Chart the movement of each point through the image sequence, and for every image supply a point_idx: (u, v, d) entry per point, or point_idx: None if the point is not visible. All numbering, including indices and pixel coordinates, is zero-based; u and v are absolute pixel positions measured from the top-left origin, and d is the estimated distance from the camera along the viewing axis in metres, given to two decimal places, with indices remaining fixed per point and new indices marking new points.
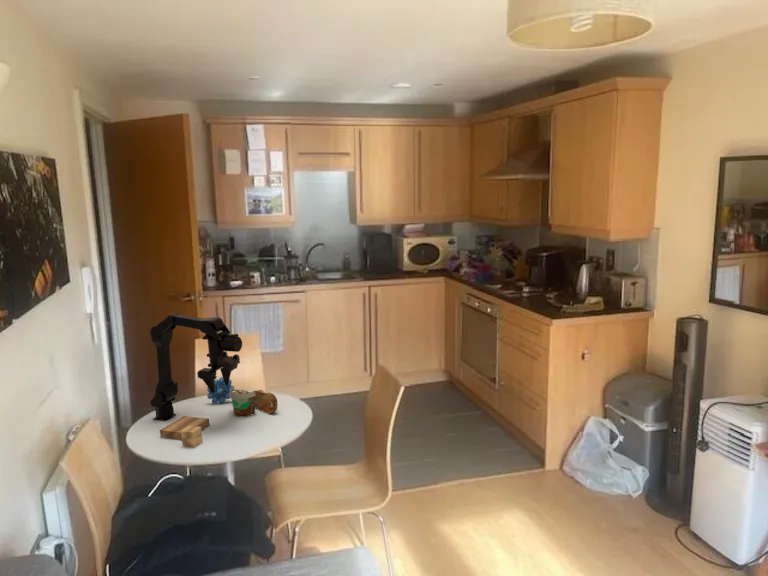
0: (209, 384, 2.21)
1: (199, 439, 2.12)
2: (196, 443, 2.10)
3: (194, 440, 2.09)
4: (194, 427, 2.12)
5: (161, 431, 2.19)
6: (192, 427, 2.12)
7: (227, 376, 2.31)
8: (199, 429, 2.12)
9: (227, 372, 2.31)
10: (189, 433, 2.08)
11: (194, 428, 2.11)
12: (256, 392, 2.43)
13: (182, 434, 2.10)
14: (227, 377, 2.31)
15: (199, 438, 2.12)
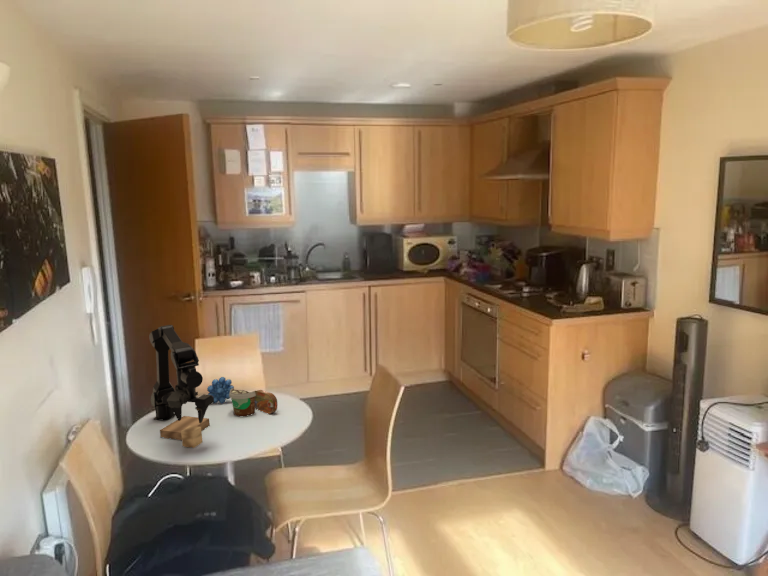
0: None
1: (199, 439, 2.12)
2: (196, 443, 2.10)
3: (194, 440, 2.09)
4: (194, 427, 2.12)
5: (161, 431, 2.19)
6: (192, 427, 2.12)
7: None
8: (199, 429, 2.12)
9: None
10: (189, 433, 2.08)
11: (194, 428, 2.11)
12: (256, 392, 2.43)
13: (182, 434, 2.10)
14: None
15: (199, 438, 2.12)
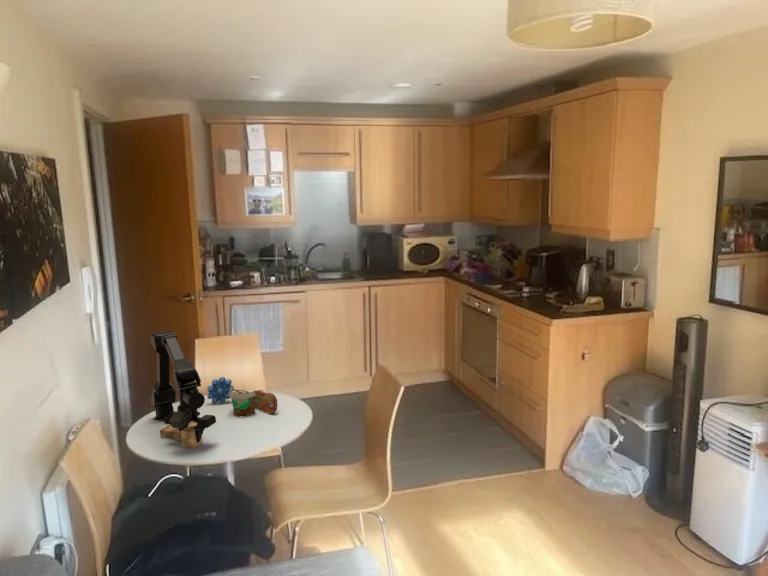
0: None
1: None
2: (196, 443, 2.10)
3: (194, 440, 2.09)
4: None
5: (161, 431, 2.19)
6: (192, 427, 2.12)
7: None
8: None
9: None
10: (189, 433, 2.08)
11: None
12: (256, 392, 2.43)
13: (182, 434, 2.10)
14: None
15: None
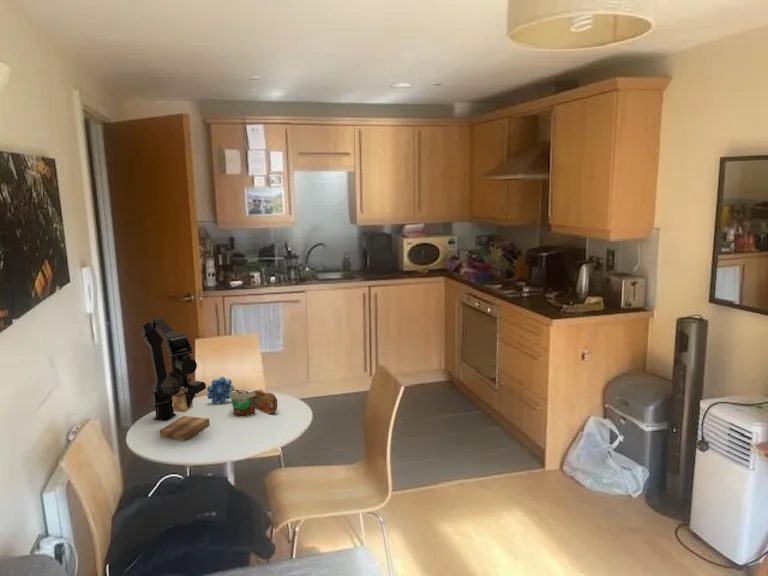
0: None
1: None
2: (187, 408, 2.19)
3: (185, 405, 2.18)
4: None
5: (161, 431, 2.19)
6: (183, 393, 2.21)
7: None
8: None
9: None
10: (180, 398, 2.17)
11: None
12: (256, 392, 2.43)
13: (173, 399, 2.18)
14: None
15: None
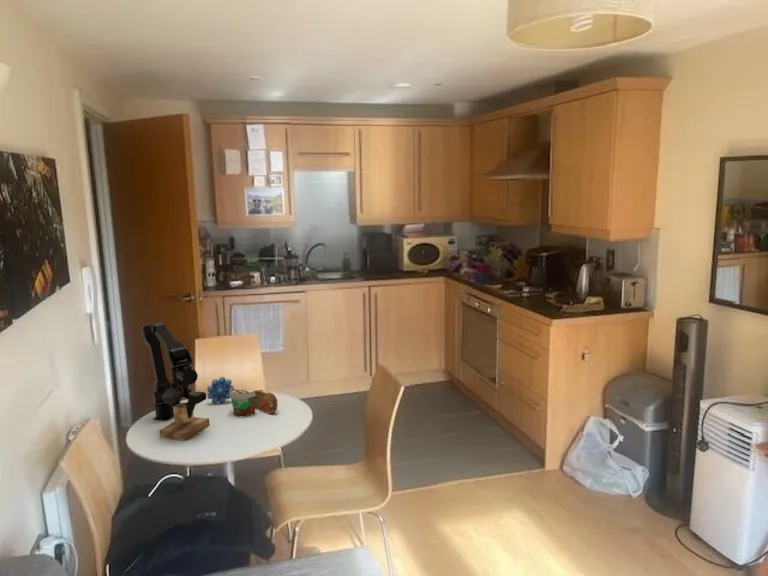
0: None
1: None
2: (187, 418, 2.21)
3: (185, 415, 2.20)
4: None
5: (161, 431, 2.19)
6: (184, 403, 2.23)
7: None
8: None
9: None
10: (181, 409, 2.19)
11: None
12: (256, 392, 2.43)
13: (174, 410, 2.20)
14: None
15: None
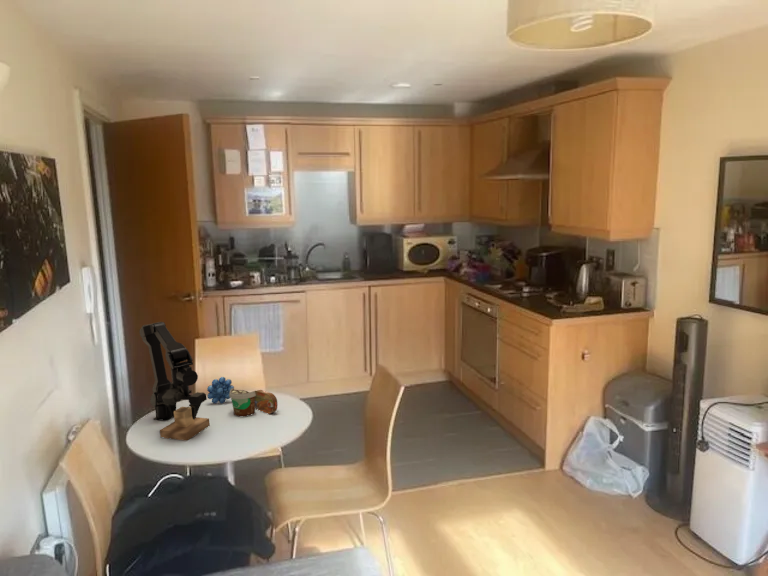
0: None
1: (191, 419, 2.23)
2: (188, 423, 2.21)
3: (186, 420, 2.20)
4: (186, 408, 2.23)
5: (161, 431, 2.19)
6: (184, 408, 2.24)
7: None
8: None
9: None
10: (181, 413, 2.20)
11: (186, 409, 2.22)
12: (256, 392, 2.43)
13: (175, 414, 2.21)
14: None
15: (191, 418, 2.23)
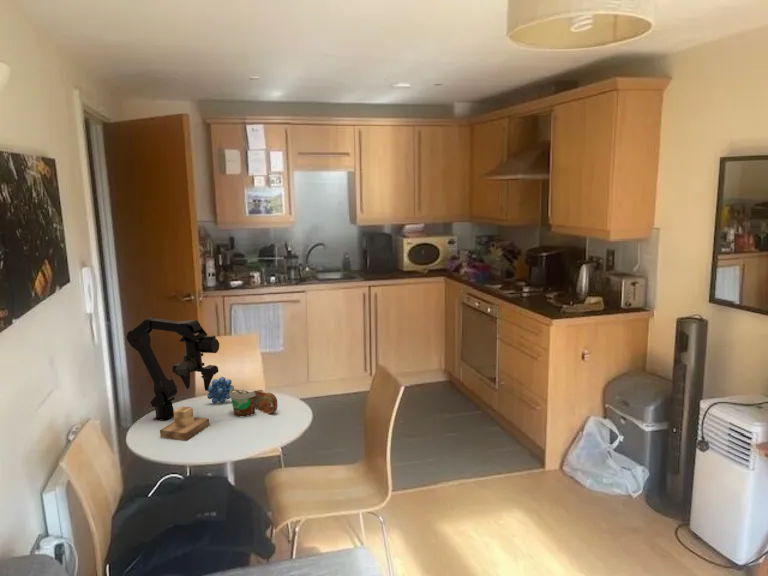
0: None
1: (191, 419, 2.23)
2: (188, 423, 2.21)
3: (186, 420, 2.20)
4: (186, 408, 2.23)
5: (161, 431, 2.19)
6: (184, 408, 2.24)
7: None
8: (191, 410, 2.23)
9: None
10: (181, 413, 2.20)
11: (186, 409, 2.22)
12: (256, 392, 2.43)
13: (175, 414, 2.21)
14: None
15: (191, 418, 2.23)
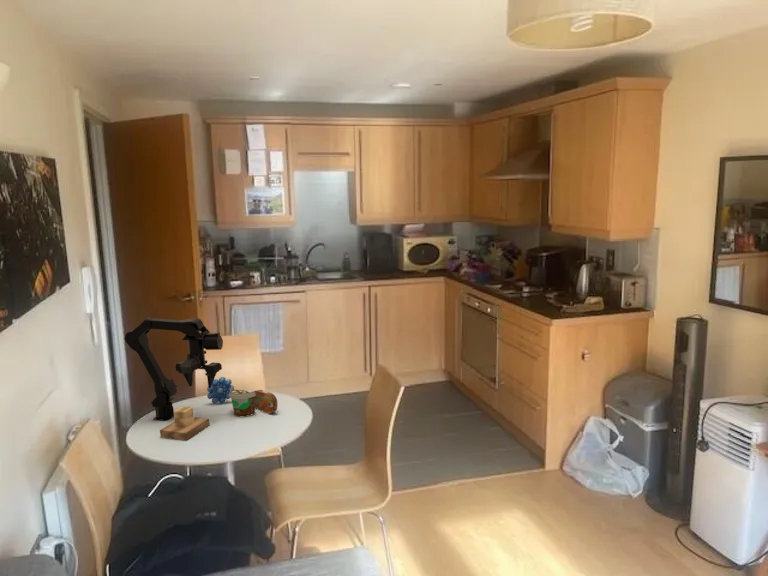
0: None
1: (191, 419, 2.23)
2: (188, 423, 2.21)
3: (186, 420, 2.20)
4: (186, 408, 2.23)
5: (161, 431, 2.19)
6: (184, 408, 2.24)
7: None
8: (191, 410, 2.23)
9: None
10: (181, 413, 2.20)
11: (186, 409, 2.22)
12: (256, 392, 2.43)
13: (175, 414, 2.21)
14: None
15: (191, 418, 2.23)
